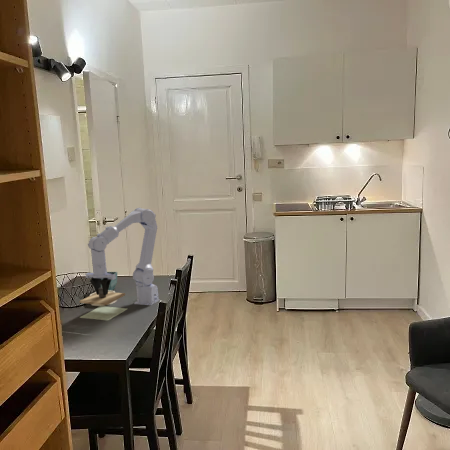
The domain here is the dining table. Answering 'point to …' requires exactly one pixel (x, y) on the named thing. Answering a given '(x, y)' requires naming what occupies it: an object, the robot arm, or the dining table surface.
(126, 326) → the dining table surface
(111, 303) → the bowl
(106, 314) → the mat
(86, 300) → the lid
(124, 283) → the dining table surface
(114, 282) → the flower pot
